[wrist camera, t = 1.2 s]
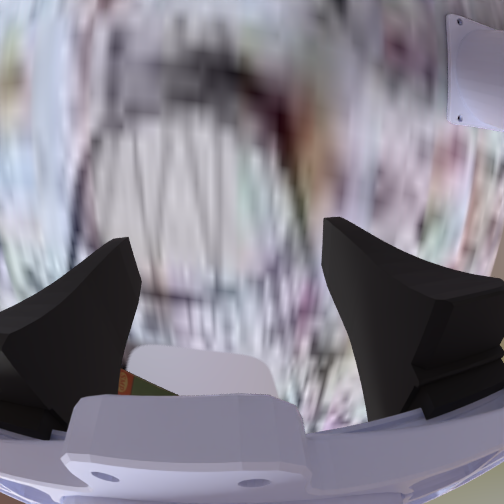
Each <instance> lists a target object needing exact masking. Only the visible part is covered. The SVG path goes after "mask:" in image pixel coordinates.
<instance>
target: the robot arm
mask: <svg viewBox="0 0 504 504" xmlns="http://www.w3.org/2000/svg"><path fill="white" fill-rule="evenodd" d="M457 20H458V21H459V24H458V23H457ZM446 28H447V46H448V104H447V119H448V121H449V122H450V123H452V124H455V125H463V126H470V127H477V128H483V129H489V130H495V131H501V132H504V30H495V29H493V28H491V27H488V26H486V25H483V24H481V23H478V22H476V21H473V20H470V19H467V18H465V17H462V16H459V15H456V14H447V15H446ZM458 116H460V119H459V120H458ZM321 265H322V269H323V273H324V276H325V280H326V283H327V287H328V289H329V291H330V294H331V296H332V298H333V301H334V303H335V305H336V308H337V310H338V312H339V314H340V317H341V319H342V321H343V324H344V326H345V328H346V331H347V333H348V336H349V339H350V342H351V345H352V349H353V353H354V356H355V360H356V364H357V368H358V372H359V376H360V381H361V385H362V390H363V395H364V400H365V405H366V411H367V417H368V422H366V423H362V424H357V425H352V426H348V427H343V428H337V429H332V430H327V431H321V432H315V433H308V434H305V429H304V423H303V418H302V416H301V414H300V412H299V411H298V409H297V407H296V405H294V404H291V403H289V402H286V401H284V400H281V399H278V398H276V397H273V396H271V395H264V394H243V393H235V394H219V395H196V396H133V395H118V388H119V378H120V371H121V364H122V358H123V353H124V349H125V346H126V342H127V339H128V336H129V332H130V329H131V326H132V322H133V319H134V316H135V312H136V309H137V306H138V302H139V296H140V290H141V283H142V281H141V277H140V274H139V271H138V268H137V265H136V261H135V258H134V255H133V251H132V248H131V244H130V241H129V237H124V238H115V239H112V240H111V241H109V242H107V243H106V244H104V245H103V246H102V247H100V248H99V249H97V250H96V251H95V252H94V253H92V254H91V255H90V256H88V257H87V258H86V259H85V260H83V261H82V262H81V263H79V264H78V265H77V266H75V267H74V268H73V269H71V270H70V271H69V272H67V273H66V274H65V275H63V276H62V277H61V278H59V279H58V280H56V281H55V282H54V283H52V284H51V285H49V286H47V287H46V288H44V289H43V290H41V291H40V292H38V293H36V294H34V295H33V296H31V297H29V298H27V299H25V300H23V301H22V302H20V303H18V304H16V305H14V306H12V307H10V308H8V309H5V310H3V311H1V312H0V492H2V493H4V494H7V495H8V496H11V497H13V498H15V499H17V500H19V501H22V502H24V503H27V504H423V503H425V502H427V501H430V500H432V499H435V498H437V497H439V496H441V495H443V494H445V493H447V492H450V491H451V490H454V489H456V488H458V487H460V486H461V485H463V484H465V483H467V482H469V481H471V480H473V479H475V478H476V477H478V476H480V475H482V474H483V473H485V472H487V471H489V470H490V469H492V468H494V467H495V466H497V465H499V464H500V463H502V462H504V363H503V361H502V360H501V358H502V357H503V356H504V350H503V349H502V347H501V346H500V343H501V341H502V339H503V338H504V281H503V280H502V279H500V278H493V277H487V276H481V275H474V274H470V273H466V272H461V271H457V270H453V269H450V268H446V267H443V266H440V265H437V264H434V263H431V262H428V261H425V260H423V259H420V258H418V257H415V256H413V255H411V254H408V253H406V252H404V251H402V250H400V249H397V248H396V247H394V246H392V245H390V244H388V243H386V242H384V241H382V240H380V239H379V238H377V237H375V236H373V235H372V234H370V233H368V232H366V231H365V230H363V229H361V228H360V227H358V226H356V225H355V224H353V223H351V222H349V221H348V220H346V219H344V218H341V217H330V218H324V221H323V245H322V263H321Z"/></svg>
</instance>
